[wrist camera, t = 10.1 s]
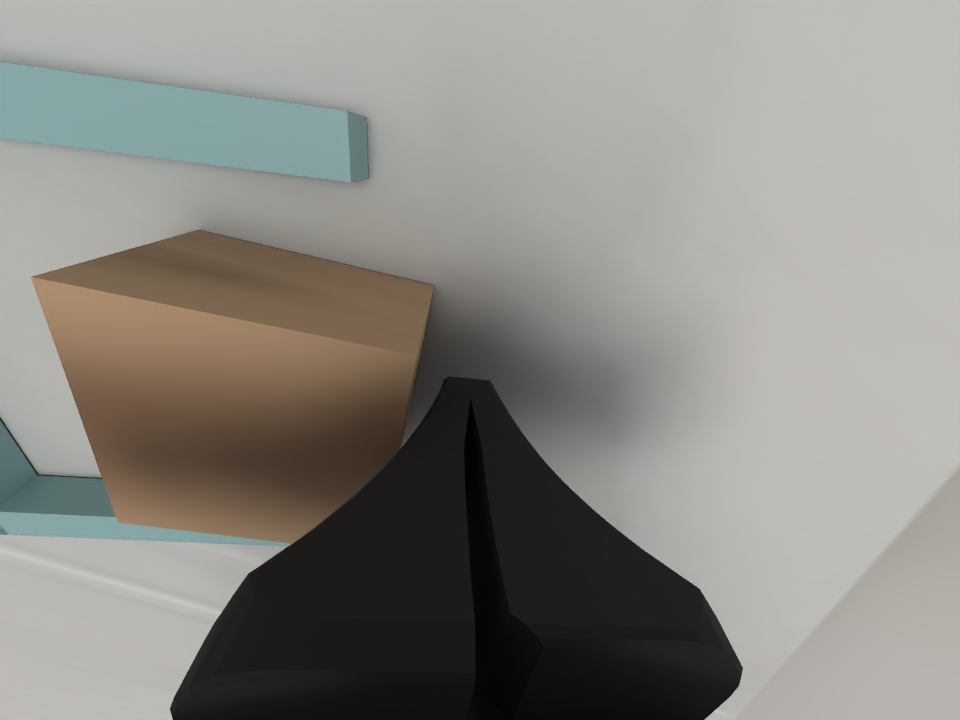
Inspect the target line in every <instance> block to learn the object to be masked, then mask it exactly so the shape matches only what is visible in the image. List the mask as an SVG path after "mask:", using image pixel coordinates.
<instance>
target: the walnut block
mask: <svg viewBox="0 0 960 720" xmlns="http://www.w3.org/2000/svg"><path fill="white" fill-rule="evenodd" d="M31 278H32V281H33V284H34V286H35V289H36V292H37V295H38V298H39V301H40V303H41V306H42V309H43V312H44V315H45V318H46V320H47V323H48V326H49V329H50V332H51V335H52V337H53V340H54V343H55V346H56V349H57V352H58V354H59V357H60V360H61V363H62V366H63V369H64V371H65V374H66V377H67V380H68V383H69V386H70V388H71V391H72V394H73V397H74V400H75V403H76V405H77V408H78V411H79V414H80V417H81V420H82V422H83V425H84V428H85V431H86V434H87V437H88V439H89V442H90V445H91V448H92V451H93V453H94V456H95V459H96V462H97V465H98V468H99V470H100V473H101V476H102V479H103V482H104V485H105V487H106V490H107V493H108V496H109V499H110V502H111V504H112V507H113V510H114V513H115V516H116V519H117V521H118V523H124V524H133V525H141V526H149V527H158V528H166V529H174V530H183V531H191V532H199V533H208V534H216V535H224V536H233V537H241V538H249V539H258V540H266V541H274V542H283V543H291V544H292V543H294V542H295V541H297V540H298V539H300V538H301V537H302V536H304V535H305V534H307V533H308V532H309V531H311V530H312V529H313V528H315V527H316V526H317V525H318V524H320V523H321V522H322V521H323V520H325V519H326V518H327V517H328V516H330V515H331V514H332V513H333V512H335V511H336V510H337V509H338V508H339V507H341V506H342V505H343V504H344V503H346V502H347V501H348V500H349V499H351V498H352V497H353V496H354V495H355V494H356V493H357V492H358V491H360V490H361V489H362V488H363V487H364V486H365V485H366V484H367V483H368V482H369V481H370V480H371V479H372V478H373V477H374V476H375V475H376V474H377V473H378V472H379V471H381V470H382V469H383V468H384V466H385V465H386V464H387V463H388V462H389V461H390V460H391V459H392V458H393V457H394V456H395V455H396V454H397V452H398V451H399V450H400V449H401V448H402V444H403V439H404V434H405V429H406V424H407V419H408V414H409V409H410V404H411V399H412V394H413V389H414V384H415V379H416V374H417V369H418V364H419V359H420V354H421V349H422V344H423V339H424V334H425V329H426V324H427V319H428V314H429V309H430V304H431V299H432V294H433V289H434V285H430V284H426V283H421V282H417V281H413V280H409V279H404V278H400V277H396V276H392V275H387V274H383V273H379V272H375V271H370V270H366V269H362V268H358V267H353V266H349V265H345V264H341V263H336V262H332V261H328V260H324V259H319V258H315V257H311V256H307V255H302V254H298V253H294V252H290V251H285V250H281V249H277V248H273V247H268V246H264V245H260V244H256V243H251V242H247V241H243V240H238V239H234V238H230V237H226V236H221V235H217V234H213V233H209V232H204V231H200V230H197V231H193V232H189V233H186V234H182V235H179V236H175V237H172V238H168V239H164V240H161V241H157V242H154V243H150V244H147V245H143V246H140V247H136V248H132V249H129V250H125V251H122V252H118V253H115V254H111V255H107V256H104V257H100V258H97V259H93V260H90V261H86V262H83V263H79V264H75V265H72V266H68V267H65V268H61V269H58V270H54V271H50V272H47V273H43V274H40V275H36V276H33V277H31Z"/></svg>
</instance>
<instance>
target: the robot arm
mask: <svg viewBox="0 0 960 720" xmlns="http://www.w3.org/2000/svg"><path fill="white" fill-rule="evenodd" d="M742 670H743V667H742V665H741V663H740V661H739V660H738V658H737V656H736V654H735V652H734V650H733V648H732V646H731V644H730V642H729V640H728V638H727V636H726V634H725V632H724V630H723V629H722V627H721V625H720V623H719V621H718V619H717V617H716V615H715V614H714V612H713V610H712V609H711V607H710V605H709V604H708V602H707V600H706V599H705V597H704V596H703V594H702V592H701V591H700V589H699V588H697V587H696V586H694V585H693V584H692V583H690V582H689V581H687V580H686V579H684V578H683V577H681V576H680V575H679V574H677V573H676V572H674V571H673V570H671V569H670V568H668V567H667V566H666V565H664V564H663V563H661V562H660V561H658V560H657V559H655V558H654V557H653V556H651V555H650V554H648V553H647V552H645V551H644V550H643V549H641V548H640V547H639V546H637V545H636V544H635V543H634V542H632V541H631V540H630V539H628V538H627V537H626V536H625V535H623V534H622V533H621V532H619V531H618V530H617V529H616V528H614V527H613V526H612V525H611V524H609V523H608V522H607V521H606V520H605V519H603V518H602V517H601V516H600V515H599V514H597V513H596V512H595V511H594V510H593V509H592V508H591V507H590V506H589V505H587V504H586V503H585V502H584V501H583V500H582V499H581V498H580V497H579V496H578V495H576V494H575V493H574V492H573V491H572V490H571V489H570V488H569V487H568V486H567V485H566V484H565V483H564V482H563V481H562V480H561V479H560V478H559V477H558V476H557V475H556V474H555V472H554V471H553V470H552V469H551V468H550V467H549V466H548V465H547V464H546V462H545V461H544V460H543V459H542V458H541V457H540V455H539V454H538V453H537V452H536V450H535V449H534V448H533V447H532V445H531V444H530V443H529V441H528V440H527V439H526V437H525V436H524V435H523V433H522V432H521V430H520V429H519V427H518V426H517V425H516V423H515V422H514V420H513V419H512V417H511V416H510V414H509V412H508V411H507V409H506V408H505V406H504V404H503V403H502V401H501V399H500V397H499V396H498V394H497V392H496V390H495V388H494V386H493V384H492V383H491V382H490V381H489V380H480V379H469V378H457V377H447V378H446V379H444V382H443V385H442V388H441V390H440V392H439V394H438V396H437V398H436V400H435V402H434V403H433V405H432V407H431V408H430V410H429V411H428V413H427V414H426V416H425V418H424V419H423V421H422V422H421V423H420V425H419V426H418V427H417V429H416V430H415V431H414V433H413V434H412V435H411V437H410V438H409V439H408V441H407V442H406V443H405V444H404V445H403V447H402V448H401V449H400V450H399V451H398V452H397V454H396V455H395V456H394V457H393V458H392V459H391V460H390V461H389V462H388V463H387V464H386V465H385V466H384V468H383V469H382V470H381V471H379V472H378V473H377V474H376V475H375V476H374V477H373V478H372V479H371V480H370V481H369V482H368V483H367V484H366V485H365V486H364V487H363V488H362V489H361V490H360V491H358V492H357V493H356V494H355V495H354V496H353V497H352V498H351V499H349V500H348V501H347V502H346V503H344V504H343V505H342V506H341V507H339V508H338V509H337V510H336V511H335V512H333V513H332V514H331V515H330V516H328V517H327V518H326V519H325V520H323V521H322V522H321V523H320V524H318V525H317V526H316V527H315V528H313V529H312V530H311V531H309V532H308V533H307V534H305V535H304V536H302V537H301V538H300V539H298V540H297V541H295V542H294V543H292V544H291V545H290V546H288V547H287V548H285V549H284V550H282V551H281V552H279V553H278V554H277V555H275V556H274V557H272V558H271V559H269V560H268V561H267V562H265V563H264V564H262V565H261V566H259V567H258V568H256V569H255V570H253V571H252V572H250V573H249V574H248V575H247V577H246V578H245V579H244V581H243V582H242V584H241V585H240V586H239V588H238V589H237V591H236V592H235V594H234V595H233V596H232V598H231V599H230V601H229V602H228V604H227V605H226V607H225V609H224V610H223V612H222V613H221V614H220V616H219V617H218V619H217V620H216V622H215V623H214V625H213V626H212V628H211V630H210V632H209V633H208V635H207V637H206V639H205V640H204V642H203V644H202V646H201V648H200V650H199V652H198V654H197V655H196V657H195V659H194V661H193V663H192V665H191V667H190V669H189V670H188V672H187V674H186V676H185V678H184V680H183V682H182V684H181V685H180V687H179V689H178V691H177V693H176V695H175V697H174V699H173V702H172V705H171V708H170V711H171V715H172V718H173V720H704V719H706V718H707V717H708V716H709V715H710V714H711V713H712V712H713V711H714V710H716V709H717V708H718V707H719V706H720V705H721V704H722V703H723V702H724V701H726V700H727V699H728V698H729V697H730V696H731V695H732V694H733V692H734V691H735V690H736V689H737V687H738V686H739V683H740V679H741V675H742Z"/></svg>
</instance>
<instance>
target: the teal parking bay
mask: <svg viewBox="0 0 960 720" xmlns="http://www.w3.org/2000/svg"><path fill="white" fill-rule="evenodd" d="M0 138H2V139H10V140H18V141H26V142H34V143H42V144H50V145H58V146H66V147H74V148H81V149H89V150H97V151H105V152H113V153H121V154H129V155H137V156H145V157H153V158H161V159H169V160H177V161H185V162H193V163H200V164H208V165H216V166H224V167H232V168H240V169H248V170H256V171H264V172H272V173H280V174H288V175H296V176H304V177H312V178H320V179H327V180H335V181H343V182H355V181H359V180H363V179H367V178H368V144H367V118H365V117H362V116H359V115H356V114H354V113H351V112H348V111H342V110H335V109H328V108H321V107H314V106H307V105H300V104H293V103H286V102H279V101H272V100H265V99H258V98H251V97H244V96H237V95H230V94H223V93H216V92H208V91H201V90H194V89H187V88H180V87H173V86H166V85H159V84H152V83H145V82H138V81H131V80H124V79H117V78H110V77H103V76H96V75H89V74H82V73H75V72H68V71H61V70H54V69H47V68H40V67H33V66H26V65H19V64H12V63H5V62H0ZM0 534H3V535H27V536H51V537H74V538H98V539H122V540H146V541H170V542H193V543H217V544H241V545H265V546H290V545H291V543H283V542H274V541H266V540H258V539H249V538H241V537H233V536H224V535H216V534H208V533H199V532H191V531H183V530H174V529H166V528H158V527H149V526H141V525H133V524H124V523H118V521H117V519H116V516H115V513H114V510H113V507H112V504H111V502H110V499H109V496H108V493H107V490H106V487H105V485H104V482H103V479H93V478H75V477H57V476H39V475H37V474H36V472H35V471H34V470H33V468H32V467H31V465H30V464H29V462H28V461H27V459H26V458H25V456H24V455H23V453H22V452H21V450H20V449H19V447H18V446H17V444H16V443H15V441H14V440H13V438H12V437H11V435H10V434H9V432H8V431H7V429H6V428H5V427H4V425H3V424H2V422H1V421H0Z"/></svg>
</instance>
